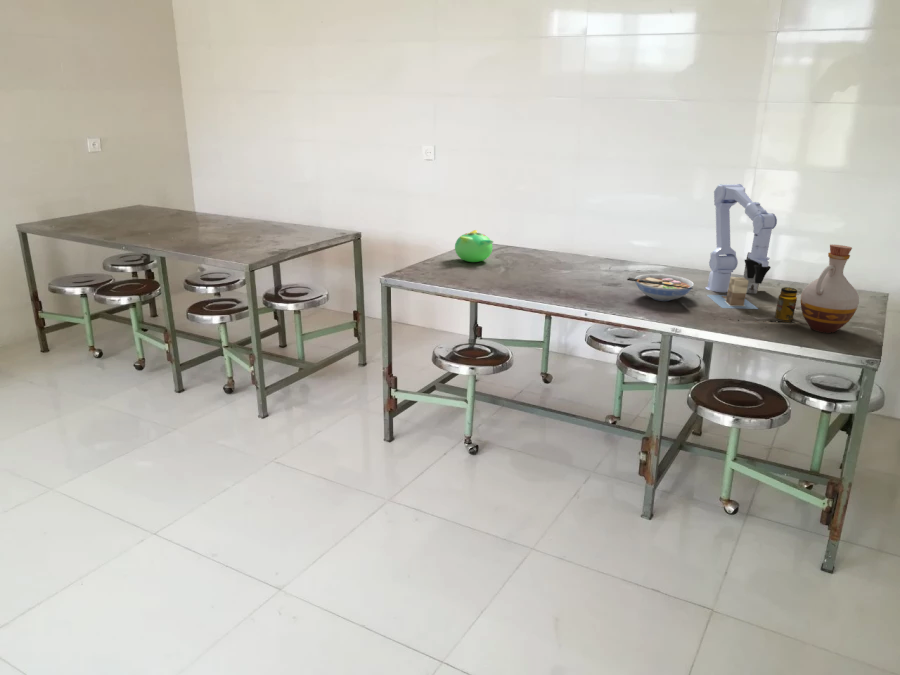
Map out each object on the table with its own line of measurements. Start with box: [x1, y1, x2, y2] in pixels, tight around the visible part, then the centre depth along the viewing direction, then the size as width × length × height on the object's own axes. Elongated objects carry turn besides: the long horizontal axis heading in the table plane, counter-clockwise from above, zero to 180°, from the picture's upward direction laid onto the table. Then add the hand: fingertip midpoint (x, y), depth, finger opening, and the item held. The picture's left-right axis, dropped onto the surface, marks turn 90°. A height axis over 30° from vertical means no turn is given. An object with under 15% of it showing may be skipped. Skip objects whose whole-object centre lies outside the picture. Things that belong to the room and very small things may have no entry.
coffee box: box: [742, 251, 759, 294], centre depth 280 cm, size 9×6×16 cm
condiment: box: [770, 286, 798, 325], centre depth 246 cm, size 7×8×12 cm
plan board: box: [706, 294, 759, 310], centre depth 266 cm, size 18×14×1 cm
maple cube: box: [728, 276, 748, 294], centre depth 260 cm, size 5×5×5 cm
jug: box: [800, 244, 860, 334], centre depth 233 cm, size 20×18×30 cm
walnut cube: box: [726, 290, 747, 306], centre depth 262 cm, size 5×5×5 cm
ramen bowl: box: [626, 273, 695, 302], centre depth 270 cm, size 25×23×8 cm
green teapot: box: [454, 229, 494, 263], centre depth 322 cm, size 18×17×15 cm
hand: (754, 280), depth 259 cm, fingers open, 7 cm apart
